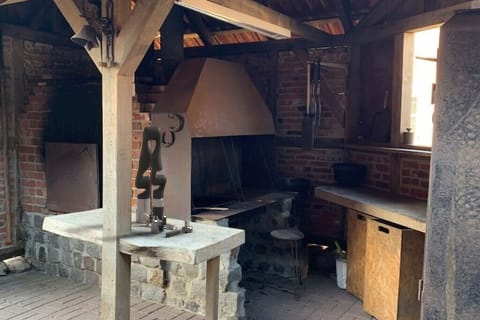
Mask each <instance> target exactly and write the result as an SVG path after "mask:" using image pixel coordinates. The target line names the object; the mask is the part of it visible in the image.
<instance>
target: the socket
mask: <svg viewBox="0 0 480 320" xmlns="http://www.w3.org/2000/svg"><path fill="white" fill-rule="evenodd" d="M161 224H162V223H161ZM150 232H151V233H154V234H161V233H164V232H165V227H164V226H163V232H160V223H158V221H156V222H151V224H150Z"/></svg>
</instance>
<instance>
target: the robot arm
mask: <svg viewBox="0 0 480 320" xmlns="http://www.w3.org/2000/svg"><path fill="white" fill-rule="evenodd" d="M161 132H162V131H161V128H160V127H159V126H145V127H144V128H143V130H142V140H141V141H142V142H141V148H140V149H141V150H140V155H139V159H138V167H137V168H138V169H137V171H136V177H135V180H134V186H135V189H137V190H144V191H142V192H140V193H138V194H137V196H136V208H135V222H136V223H139V224H143V223H142V221H145V217H144V216H143V217H141V215H142V214H144V213H146V214H148V215H149V219H150V223H151V222H156V221H158V223H160V232H162V233H164V232H163V226H164V225H166V223H167V220H168V216H167V215H164V212H165V210H164V209H165V199H164V197H165V194H164V193H165V190H166V189H165V188H166V185H167V176H166V175H165V174H157V172H162V170H163V164H162V163H163V161H162V133H161ZM149 141H150V142H151V141H154V142H155V146H154V150H153V151H152V149H151V147H150V145H149ZM149 169H150V170H151V171H150V176H149V175H144V174H145V173H146V172H147V171H148V170H149ZM152 186H153V187H154V186H155V187H157V186H158V187H157V188H155V189H153V190H152ZM151 191H152V201H151ZM151 203H152V205H151ZM151 212H152V213H151ZM151 219H152V221H151ZM161 223H162V224H161Z"/></svg>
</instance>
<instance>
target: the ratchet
mask: <svg viewBox="0 0 480 320" xmlns="http://www.w3.org/2000/svg"><path fill="white" fill-rule="evenodd" d="M193 229H194V228H193V226H192V225H191V219H190V220H189V219H185V220H184V226H182V227H181V228H180V229H176V230H171V231H168V232H167V231H166V232H165V238H166V237H167V238H173V237H177V236H178V235H179V236H180V235H183V234H190V233H193Z"/></svg>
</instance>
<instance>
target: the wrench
mask: <svg viewBox="0 0 480 320" xmlns="http://www.w3.org/2000/svg"><path fill="white" fill-rule="evenodd" d="M143 216H144V217H145V221H142V223H141V224H143V225H146V227H149V226H150V225H151V223H150V219H149V215H148V214H146V213H144V214H142V215H141V217H143ZM151 221H152V219H151ZM164 228H167V229H170V230H173V231H175V230H178V228H179V227H178V225H177V224H173V223H169V222H166V225H164Z"/></svg>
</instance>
